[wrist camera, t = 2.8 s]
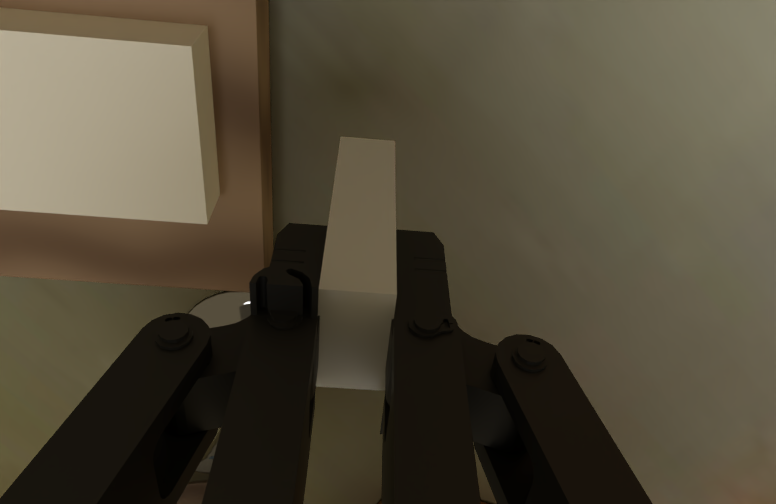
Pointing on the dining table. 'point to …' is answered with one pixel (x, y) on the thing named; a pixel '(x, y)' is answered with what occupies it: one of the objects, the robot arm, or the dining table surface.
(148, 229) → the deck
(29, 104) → the cream rectangular block
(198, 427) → the robot arm
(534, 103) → the dining table surface
